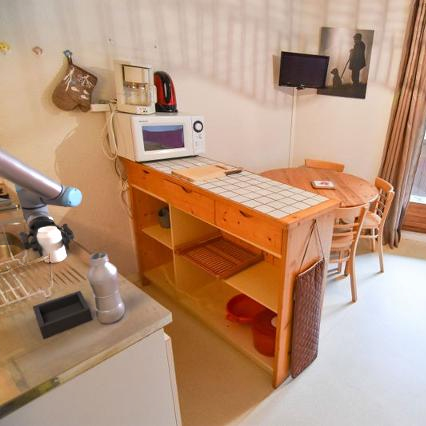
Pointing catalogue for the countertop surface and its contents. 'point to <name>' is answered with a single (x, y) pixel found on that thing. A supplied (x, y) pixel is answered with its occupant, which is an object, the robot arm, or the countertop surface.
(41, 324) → the black tray
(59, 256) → the beverage can
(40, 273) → the countertop surface
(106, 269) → the plastic bottle
